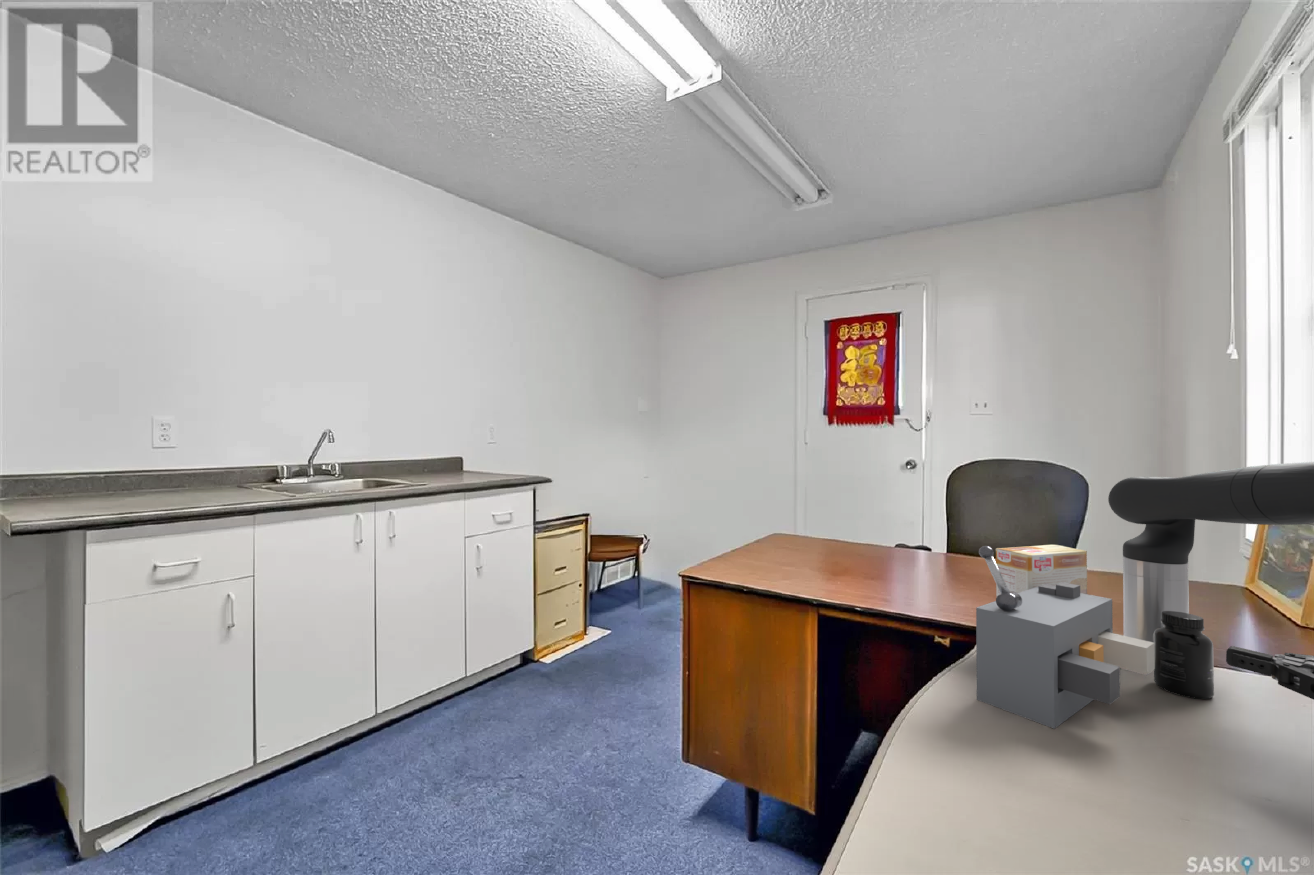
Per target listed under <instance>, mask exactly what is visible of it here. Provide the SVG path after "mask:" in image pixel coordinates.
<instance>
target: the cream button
mask: <svg viewBox="0 0 1314 875" xmlns="http://www.w3.org/2000/svg"><path fill="white" fill-rule="evenodd" d="M1098 644H1100V645H1103V647H1104V663H1108V664H1111V665H1115V666H1119V667H1120V670H1121V669H1122V670H1125V671H1129V672H1133V673H1137V674H1140V675H1145V676H1148V675H1149V674H1150V673H1152V672H1154V669H1155V648H1154V643H1153V642H1149V641H1145V640H1140V639H1136V638H1132V637H1127V636H1124V634H1120V633H1119V634H1118V633H1114V632H1113V633H1110V632H1106V631H1103V632H1101V633H1099V634H1098Z"/></svg>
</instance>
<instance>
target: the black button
mask: <svg viewBox="0 0 1314 875" xmlns="http://www.w3.org/2000/svg"><path fill="white" fill-rule="evenodd" d="M1120 670H1121V668H1120V667H1119V666H1115V665H1111V664H1108V663H1104V662H1100V661H1097V660H1093V659H1089V658H1086V657H1082V656H1078V655H1074V654H1071V653H1067V652H1064V653H1063V654H1061V655H1059V656H1058V688H1060V689H1063V690H1066V691H1069V692H1073V693H1076V694H1079V695H1082V696H1085V697H1088V698H1091V699H1094V700H1093V701H1097V702H1101V703H1104V704H1108V705H1111V704H1112V703H1114V702H1115V701H1117V700H1118V699H1119V698H1121V671H1120Z"/></svg>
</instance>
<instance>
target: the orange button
mask: <svg viewBox="0 0 1314 875" xmlns="http://www.w3.org/2000/svg"><path fill="white" fill-rule="evenodd" d="M1079 656H1082V657H1086V658H1089V659H1093V660H1097V661H1100V662H1104V647H1103V645H1100V644H1096V643H1092V642H1088V641H1084V642H1083V643H1081V644H1079Z"/></svg>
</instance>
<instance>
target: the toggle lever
mask: <svg viewBox="0 0 1314 875" xmlns="http://www.w3.org/2000/svg"><path fill="white" fill-rule="evenodd" d="M978 555H979V556H980V557H981V558H983V559H984V560H985V563H986V564H987V567H988V569H989V572H990V574H991V575H992V576H991V577H993V580H994V582H995V584H997V587H998V589H999V591H1000V593H1001V594H1000V595H998V596H997V598H995V601H996V604H997V606H998V607H999V608H1000V609H1002V610H1005V611H1009V610H1012V609H1014V608H1017V607H1019V606H1021V604H1022V598H1021V596H1020V595H1019V594H1018V593H1016V592H1013V591H1010V592H1009V590H1008V587H1007V585H1006V583H1005V581H1004V579H1003V577H1002V575H1001V573H1000V571H999V568H998V566H997V564H996V559H995V558H994V555H995V552H994V550H993V548H992V547H991V546H989V545H982V546H981V547H980V548H978Z"/></svg>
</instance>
